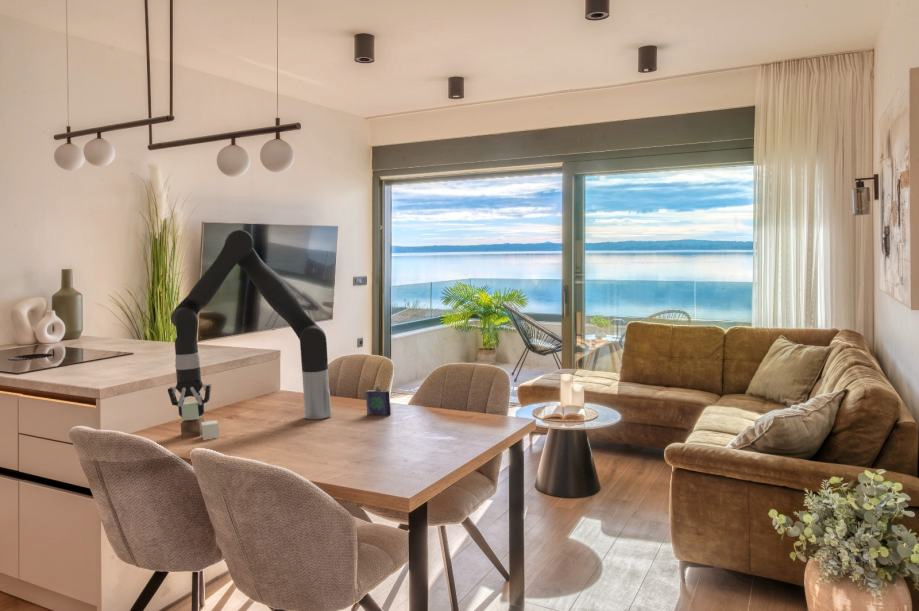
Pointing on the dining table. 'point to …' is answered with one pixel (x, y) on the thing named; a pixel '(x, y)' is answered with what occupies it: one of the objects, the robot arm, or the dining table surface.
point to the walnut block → (191, 428)
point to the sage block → (190, 411)
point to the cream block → (210, 430)
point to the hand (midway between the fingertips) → (191, 416)
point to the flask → (378, 402)
